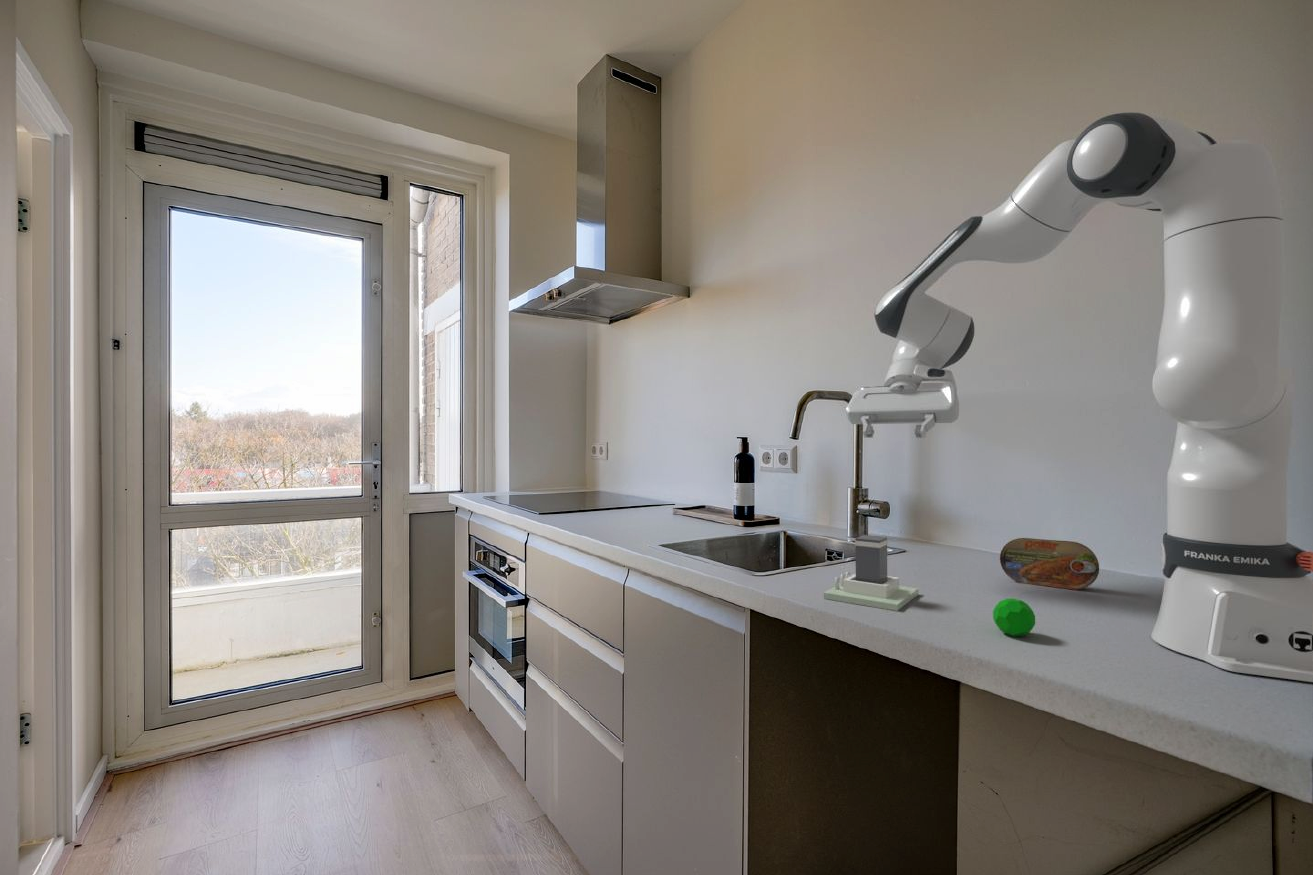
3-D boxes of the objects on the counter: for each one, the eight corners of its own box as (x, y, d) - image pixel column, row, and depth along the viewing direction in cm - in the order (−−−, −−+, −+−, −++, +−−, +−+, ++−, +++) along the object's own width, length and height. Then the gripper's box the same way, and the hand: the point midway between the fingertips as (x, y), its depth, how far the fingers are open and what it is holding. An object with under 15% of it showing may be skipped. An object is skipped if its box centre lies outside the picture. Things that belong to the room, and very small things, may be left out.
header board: (918, 594, 104) (918, 576, 104) (897, 611, 94) (897, 591, 94) (849, 583, 111) (849, 567, 111) (823, 598, 102) (823, 580, 102)
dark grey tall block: (887, 589, 103) (887, 537, 103) (879, 595, 100) (879, 540, 100) (863, 586, 105) (863, 534, 105) (855, 591, 102) (855, 538, 102)
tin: (999, 580, 113) (999, 535, 113) (1002, 577, 115) (1002, 533, 115) (1099, 593, 103) (1098, 544, 103) (1100, 589, 106) (1100, 541, 106)
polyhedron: (1000, 626, 87) (1000, 593, 87) (1039, 634, 83) (1039, 599, 83) (988, 634, 83) (987, 599, 83) (1028, 643, 80) (1028, 607, 80)
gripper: (851, 377, 124) (833, 424, 117) (960, 370, 112) (948, 422, 104) (859, 399, 128) (842, 446, 120) (966, 395, 115) (954, 447, 108)
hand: (892, 435), depth 112 cm, fingers open, 8 cm apart
